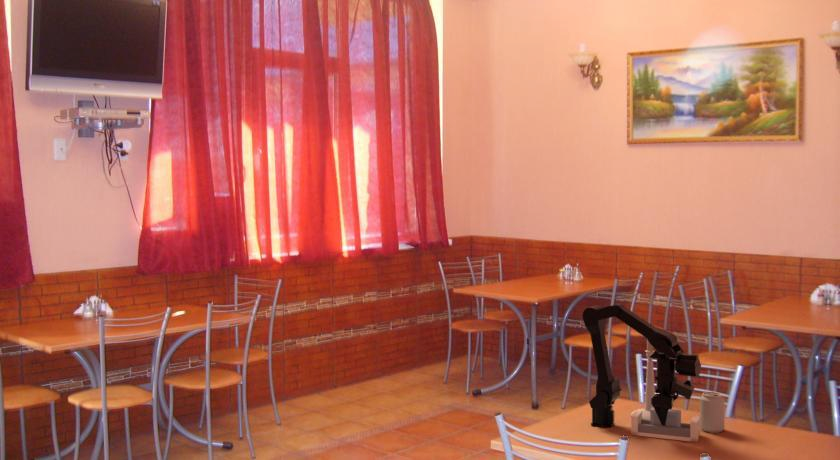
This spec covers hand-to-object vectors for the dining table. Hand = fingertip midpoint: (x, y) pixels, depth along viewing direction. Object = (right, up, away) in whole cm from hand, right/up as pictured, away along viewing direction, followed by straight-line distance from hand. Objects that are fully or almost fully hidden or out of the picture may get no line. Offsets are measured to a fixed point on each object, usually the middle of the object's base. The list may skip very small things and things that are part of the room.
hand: (665, 421), depth 264 cm
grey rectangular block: (0, -3, 0) cm, 3 cm away
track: (0, -4, 0) cm, 4 cm away
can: (+16, -4, +5) cm, 18 cm away
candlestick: (+1, -4, +21) cm, 21 cm away
